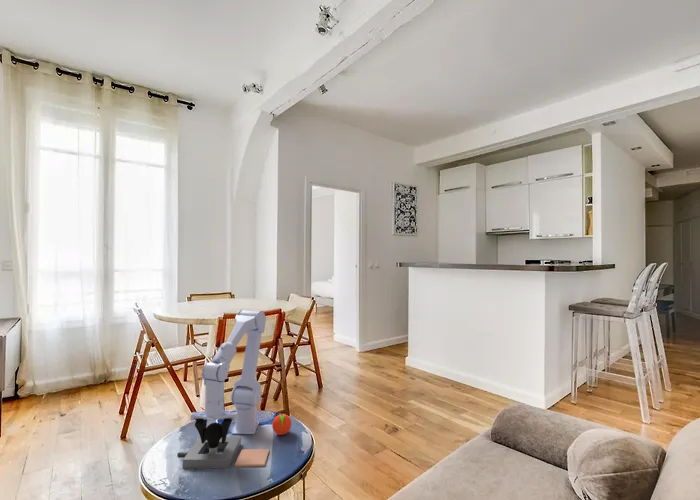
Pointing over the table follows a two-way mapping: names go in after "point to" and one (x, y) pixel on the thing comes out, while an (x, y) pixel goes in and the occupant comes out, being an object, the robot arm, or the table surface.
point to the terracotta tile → (252, 457)
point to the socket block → (201, 460)
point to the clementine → (281, 424)
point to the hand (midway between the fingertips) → (213, 441)
